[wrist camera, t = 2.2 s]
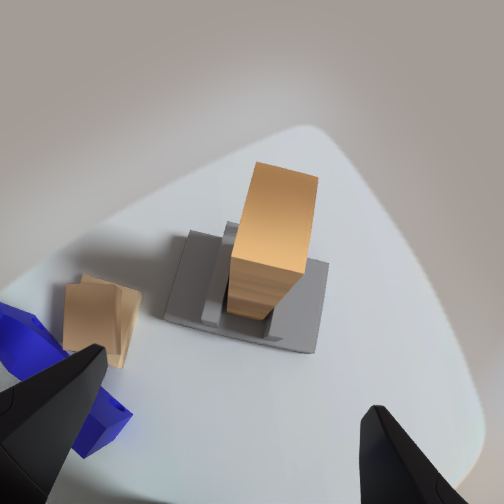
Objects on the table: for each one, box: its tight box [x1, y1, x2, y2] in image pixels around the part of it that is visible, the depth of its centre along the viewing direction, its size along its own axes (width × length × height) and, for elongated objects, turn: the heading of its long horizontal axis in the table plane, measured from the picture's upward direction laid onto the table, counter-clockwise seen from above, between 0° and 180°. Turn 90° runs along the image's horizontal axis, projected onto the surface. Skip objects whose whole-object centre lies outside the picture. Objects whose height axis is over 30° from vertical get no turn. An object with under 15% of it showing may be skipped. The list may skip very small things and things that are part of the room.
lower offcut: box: [62, 273, 143, 368], centre depth 21 cm, size 6×5×2 cm
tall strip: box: [227, 162, 318, 321], centre depth 17 cm, size 4×2×12 cm, turn 167°
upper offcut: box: [63, 284, 122, 355], centre depth 19 cm, size 5×4×2 cm
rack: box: [164, 221, 329, 354], centre depth 21 cm, size 7×11×4 cm, turn 77°
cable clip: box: [0, 302, 133, 459], centre depth 17 cm, size 12×4×6 cm, turn 55°
